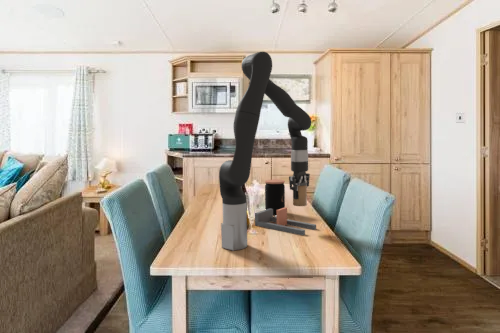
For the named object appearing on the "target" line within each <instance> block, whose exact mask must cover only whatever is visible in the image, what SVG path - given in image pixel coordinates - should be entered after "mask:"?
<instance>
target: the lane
mask: <svg viewBox="0 0 500 333" xmlns="http://www.w3.org/2000/svg"><path fill="white" fill-rule="evenodd" d="M254 226H256V227H260V228H265V229H271V230H275V231H279V232H280V231H281V232H284V233H289V234H294V235H299V236H304V235H306V229H307V230H312V231H315V230H317V224H315V223H309V222H305V221H298V220H293V219H288V218H287V225H284V226H283V225H278V224H277V217H275V216H274V215H273V209H271V208H269V209H266V210H265V209H264V210H260V211H258V212H257V211H256V212H254ZM302 228H303V229H302Z"/></svg>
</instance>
